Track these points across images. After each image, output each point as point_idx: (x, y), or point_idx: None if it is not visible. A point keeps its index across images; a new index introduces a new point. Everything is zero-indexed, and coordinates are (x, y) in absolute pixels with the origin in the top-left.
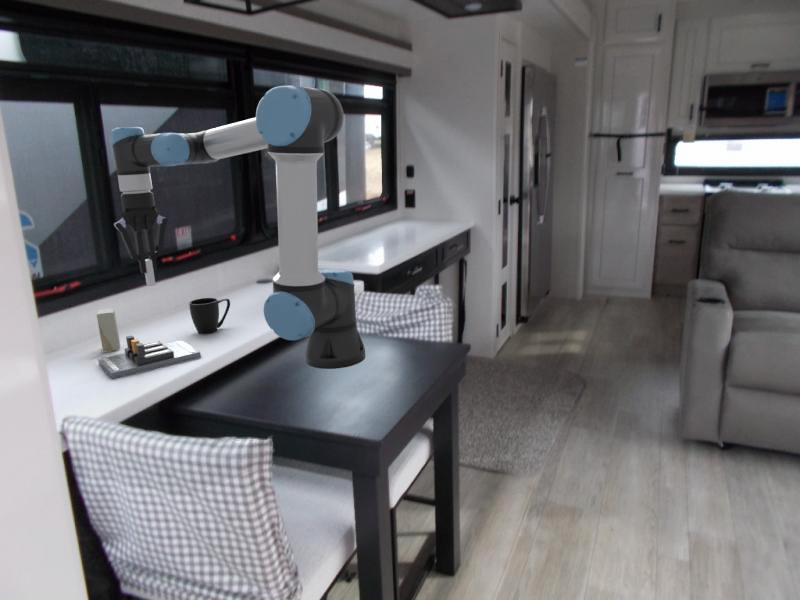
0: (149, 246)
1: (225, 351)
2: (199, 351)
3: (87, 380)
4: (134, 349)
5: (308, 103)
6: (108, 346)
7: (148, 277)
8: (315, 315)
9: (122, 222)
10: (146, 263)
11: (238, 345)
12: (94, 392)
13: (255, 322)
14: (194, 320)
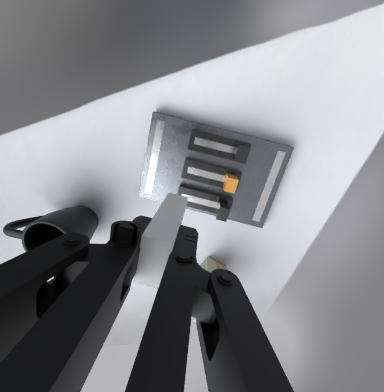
0: (105, 297)
1: (114, 101)
2: (152, 114)
3: (310, 175)
4: (236, 176)
5: None
6: (219, 267)
7: (183, 208)
8: None
9: None
10: (174, 235)
11: (84, 109)
12: (341, 113)
13: (9, 192)
14: (90, 230)
